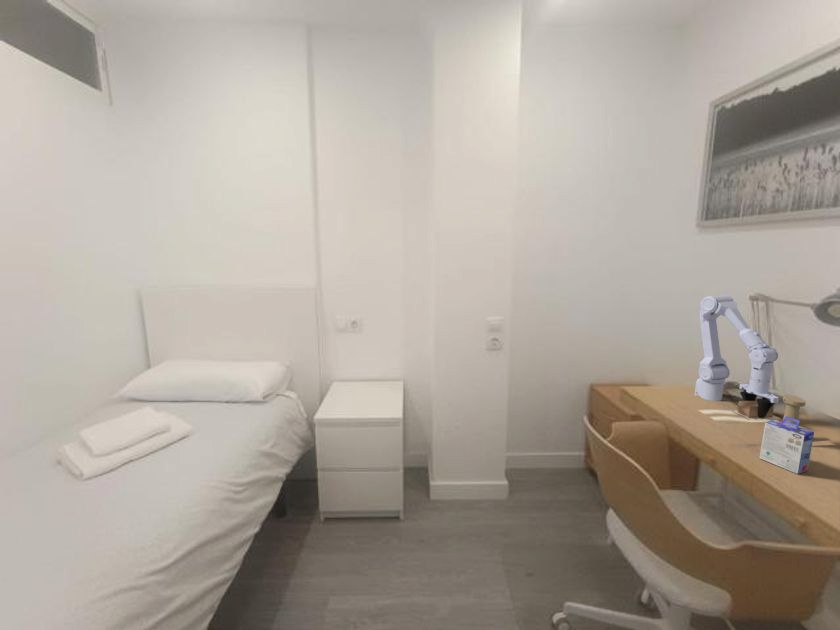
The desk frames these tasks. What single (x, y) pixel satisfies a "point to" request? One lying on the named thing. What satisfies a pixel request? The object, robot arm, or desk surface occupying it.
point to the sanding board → (734, 416)
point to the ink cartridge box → (787, 445)
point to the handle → (793, 407)
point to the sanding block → (751, 409)
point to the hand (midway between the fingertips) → (755, 413)
